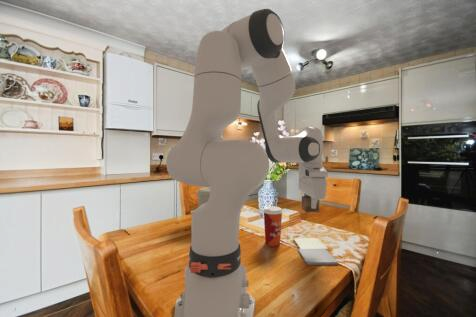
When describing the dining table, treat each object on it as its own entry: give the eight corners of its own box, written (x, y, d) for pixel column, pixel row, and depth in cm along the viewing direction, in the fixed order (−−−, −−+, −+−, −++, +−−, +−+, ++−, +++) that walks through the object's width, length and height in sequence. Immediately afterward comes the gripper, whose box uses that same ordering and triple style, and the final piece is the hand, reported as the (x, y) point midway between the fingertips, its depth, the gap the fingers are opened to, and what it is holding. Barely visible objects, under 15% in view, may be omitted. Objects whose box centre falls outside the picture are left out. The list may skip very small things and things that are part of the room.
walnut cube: (319, 211, 85) (319, 198, 84) (305, 212, 85) (306, 198, 84) (314, 208, 90) (314, 195, 89) (301, 208, 90) (301, 196, 89)
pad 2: (338, 264, 73) (338, 262, 73) (307, 264, 72) (307, 262, 72) (325, 250, 83) (325, 248, 83) (298, 251, 82) (298, 248, 82)
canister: (189, 223, 114) (188, 181, 113) (217, 216, 126) (217, 178, 125) (210, 232, 101) (209, 185, 100) (239, 223, 113) (239, 182, 112)
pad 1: (327, 250, 83) (327, 248, 83) (300, 251, 82) (300, 248, 82) (317, 239, 93) (317, 238, 93) (293, 240, 92) (293, 238, 92)
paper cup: (275, 249, 84) (275, 212, 83) (259, 243, 89) (259, 208, 88) (286, 243, 89) (286, 208, 89) (270, 238, 95) (270, 204, 94)
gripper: (294, 168, 97) (294, 200, 97) (311, 173, 76) (311, 213, 77) (309, 168, 97) (309, 200, 97) (330, 172, 77) (329, 213, 77)
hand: (310, 206), depth 87 cm, fingers closed on walnut cube, 5 cm apart
